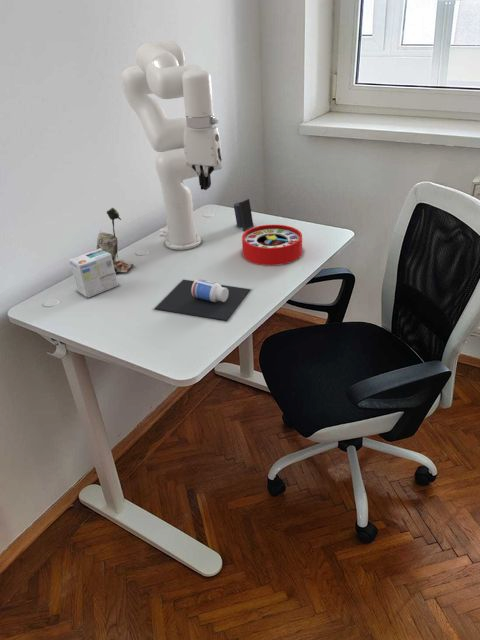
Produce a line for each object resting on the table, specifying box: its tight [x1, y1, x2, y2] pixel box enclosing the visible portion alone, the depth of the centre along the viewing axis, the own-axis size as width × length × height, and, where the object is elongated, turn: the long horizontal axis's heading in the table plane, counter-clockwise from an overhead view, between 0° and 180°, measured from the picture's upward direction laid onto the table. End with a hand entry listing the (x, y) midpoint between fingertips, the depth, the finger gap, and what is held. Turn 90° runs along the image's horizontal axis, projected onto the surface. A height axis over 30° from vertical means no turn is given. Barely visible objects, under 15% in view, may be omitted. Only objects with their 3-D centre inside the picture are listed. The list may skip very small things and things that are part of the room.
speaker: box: [233, 198, 255, 232], centre depth 193 cm, size 8×6×10 cm
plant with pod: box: [96, 207, 134, 274], centre depth 163 cm, size 8×11×20 cm
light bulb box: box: [68, 248, 119, 299], centre depth 155 cm, size 11×7×11 cm, turn 134°
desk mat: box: [154, 279, 251, 322], centre depth 151 cm, size 22×18×1 cm
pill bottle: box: [191, 278, 228, 302], centre depth 148 cm, size 6×5×10 cm
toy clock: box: [241, 224, 303, 266], centre depth 174 cm, size 20×6×20 cm
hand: (205, 188), depth 152 cm, fingers closed
